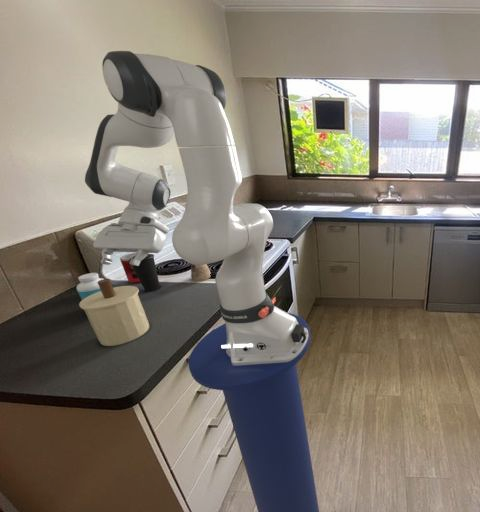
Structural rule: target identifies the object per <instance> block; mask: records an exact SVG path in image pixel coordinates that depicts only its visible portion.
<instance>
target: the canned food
mask: <svg viewBox="0 0 480 512" xmlns="http://www.w3.org/2000/svg"><path fill="white" fill-rule="evenodd" d="M137 254H138V253H137V252H130V253H127V254H124V255H122V256H120V257H119V260H120V263H121V265H122V268H123V272H124V273H125V276H126V278H127V281H128V283H130V284H132V285H133V284H141V282H140V280H139V278H138V276H137V274H136V272H135V270H134V268H133V266H132V265H130V262H129V259H130V258H131V257H133V256H135V255H137Z"/></svg>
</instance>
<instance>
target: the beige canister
mask: <svg viewBox="0 0 480 512" xmlns="http://www.w3.org/2000/svg"><path fill="white" fill-rule="evenodd" d="M84 312H85V315H86V317H87V319H88V321H89V323H90V326H91V327H92V330H93V332H94V333H95V336H96V338H97V341H98V342H99V343H100V345H102V346H105V347H113V346H120V345H123V344H127V343H130V342H131V341H134V340H136V339H138V338H140V337H141V336H143V335H144V334H146V333H147V332H148V331H149V329H150V323H149V320H148V317H147V315H146V311H145V309H144V307H143V303H142V301H141V299H140V297H139V293H138V294H137V295H136V296H135V297H133V298H132V299H130V300H128V301H126V302H123V303H121V304H118V305H115V306H112V307H108V308H103V309H97V310H84Z"/></svg>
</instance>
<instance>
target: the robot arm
mask: <svg viewBox="0 0 480 512" xmlns="http://www.w3.org/2000/svg"><path fill="white" fill-rule="evenodd" d="M101 67H102V76H103V81H104V83H105V86H106V88H107V90H108V91H109V94H110V95H111V97H112V98H113V100H115V102H117V111H116V113H114V114H106V116H104V117H103V119H102V120H101V121H100V123H99V125H98V128H97V131H96V135H95V139H94V142H93V148H92V152H91V157H90V161H89V165H88V167H87V169H86V172H85V174H84V183H85V184H86V186H87V187H88V188H89V189H90V191H92V192H93V194H95V195H99V196H105V197H109V198H115V199H118V200H122V201H124V202H128V204H127V206H125V207H124V210H123V212H122V214H121V215H120V218H119V219H118V221H117V223H116V222H113V223H110V224H108V225H106V226H105V227H103V228H102V230H101V231H100V232H99V233H98V235H97V236H96V238H95V239H94V241H93V243H92V245H93V248H95V249H96V250H98V251H101V257H102V258H101V260H100V264H102V265H106V266H108V265H109V266H110V265H111V264H112V262H113V259H112V258H111V255H113V254H114V252H115V253H138V254H137V255H136V257H135V258H131V261H130V265H133V266H139V264H140V262H141V261H142V260H143V259H144V258H145V257H146V256H147V254H159V253H160V252H161V251H163V249H164V247H165V244H166V241H167V238H168V235H167V234H168V233H169V232H170V230H171V229H170V227H169V226H167V225H165V224H164V223H162V222H161V221H160V214H161V213H162V212H163V211H164V209H165V208H167V205H168V202H169V200H170V198H171V189H170V186H169V184H168V183H167V182H166V181H165V180H164V179H163V178H160V177H158V176H156V175H153V174H150V173H146V172H144V171H143V172H142V171H139V170H137V169H133V168H131V167H127V166H124V165H122V164H120V163H118V162H117V161H116V160H115V159H116V156H117V154H118V153H117V152H118V150H119V149H118V148H119V147H134V148H142V149H153V148H159V147H162V146H165V145H166V144H168V143H169V142H170V141H171V140H172V138H173V136H174V139H175V142H176V146H177V148H178V153H179V156H180V160H181V163H182V168H183V172H184V176H185V180H186V187H187V188H186V189H187V190H186V192H187V196H186V204H185V208H184V212H183V214H182V217H181V219H180V220H179V222H178V224H177V225H176V226H175V227H174V229H173V231H172V235H171V242H172V246H173V247H172V248H173V249H174V252H176V254H177V255H178V257H180V258H181V259H182V260H183V261H185V262H186V263H188V264H192V265H197V266H199V265H205V264H207V265H209V264H213V263H218V262H221V261H222V264H221V266H220V267H219V269H218V270H217V272H216V275H215V279H214V280H215V286H216V290H217V295H218V299H219V302H220V304H219V309H220V314H221V318H222V320H223V321H224V324H225V325H226V334H227V343H226V345H222V346H221V347H222V348H226V353H227V354H228V356H229V357H230V358H231V363H232V365H233V366H240V365H255V364H269V363H283V362H290V361H291V360H293V359H294V358H296V357H297V356H298V355H299V354H300V352H301V351H302V350H303V348H304V347H305V345H306V343H307V340H308V337H309V334H308V330H307V328H304V326H303V324H298V322H297V320H296V318H295V317H294V316H292V315H290V314H288V313H289V312H286V311H285V310H283V309H281V308H279V307H277V306H276V305H275V303H276V301H277V297H276V296H274V297H273V298H272V299H271V297H270V296H269V295H268V293H267V292H266V288H265V280H264V273H263V263H264V262H263V261H264V254H265V249H266V245H267V242H268V239H269V236H270V234H271V233H272V231H273V229H274V220H273V216H272V214H271V213H270V211H269V210H268V209H267V208H266V207H265V206H264V205H262V204H259V203H249V202H248V203H238V204H235V205H234V200H235V195H236V193H237V190H238V189H239V188H240V186H241V185H242V183H243V174H242V168H241V165H240V159H239V156H238V152H237V147H236V143H235V138H234V135H233V131H232V128H231V125H230V122H229V119H228V117H227V114H226V111H225V108H226V107H227V106H226V105H227V99H228V96H227V91H226V90H227V89H226V87H225V84H224V83H223V81H222V79H221V77H220V76H219V75H218V73H216V72H215V71H213V70H212V69H210V68H208V67H206V66H202V65H200V64H196V65H195V64H192V63H188V62H185V61H182V60H177V59H172V58H170V57H169V56H162V55H155V54H148V53H134V52H132V51H130V50H113V51H108V52H107V53H106V55H105V56H104V58H103V60H102V66H101Z"/></svg>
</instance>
